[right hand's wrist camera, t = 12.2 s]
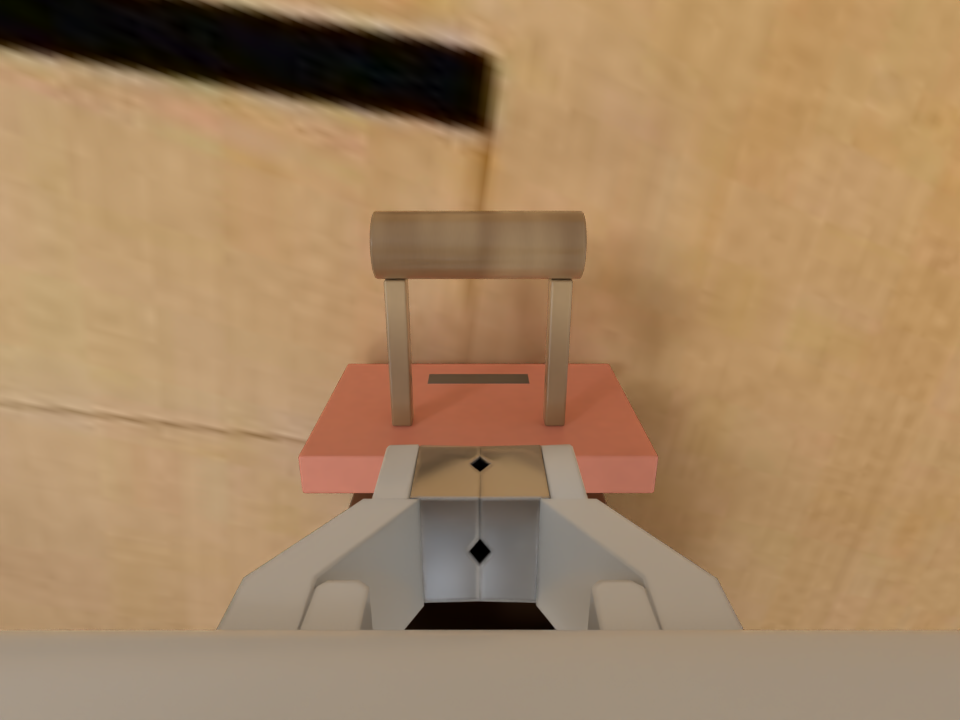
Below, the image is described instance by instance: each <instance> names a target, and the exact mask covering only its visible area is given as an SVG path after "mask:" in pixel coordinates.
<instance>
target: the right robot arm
mask: <svg viewBox="0 0 960 720" xmlns="http://www.w3.org/2000/svg"><path fill="white" fill-rule="evenodd" d="M468 601H491V602H527V603H536V606H537V607H538V608H539V609H540V611H541V612H542V613H543V614H544V616H545V617H546V618H547V619H548V620H549V622H550V623H551V624H552V625H553V627H554V628H555V629H556V630H405V628H406V627H407V626H408V625H409V623H410V622H411V621H412V620H413V619H414V617H415V616H416V615H417V614H418V612H419V611H420V610H421V609H422V608H423V606H424V603H432V602H468ZM0 720H960V630H744V629H743V627H742V626H741V624H740V622H739V620H738V618H737V616H736V614H735V612H734V610H733V608H732V606H731V604H730V602H729V600H728V598H727V596H726V595H725V593H724V591H723V589H722V587H721V585H720V583H719V581H718V579H717V578H716V577H714V576H713V575H711V574H710V573H708V572H707V571H705V570H704V569H702V568H701V567H699V566H697V565H696V564H694V563H693V562H691V561H690V560H688V559H687V558H685V557H684V556H682V555H681V554H679V553H678V552H676V551H675V550H673V549H672V548H670V547H669V546H667V545H666V544H664V543H663V542H661V541H660V540H658V539H657V538H655V537H654V536H652V535H651V534H649V533H648V532H646V531H645V530H643V529H642V528H640V527H639V526H637V525H636V524H634V523H633V522H631V521H630V520H628V519H626V518H625V517H623V516H622V515H620V514H619V513H617V512H616V511H614V510H613V509H611V508H610V507H608V506H607V505H605V504H604V503H602V502H601V501H599V500H598V499H588V497H587V494H586V490H585V487H584V483H583V480H582V477H581V473H580V470H579V466H578V463H577V459H576V456H575V453H574V449H573V446H571V445H570V444H562V445H515V446H450V445H420V446H419V445H418V444H409V445H389V446H388V447H387V448H386V452H385V455H384V459H383V462H382V466H381V469H380V473H379V476H378V480H377V483H376V487H375V490H374V494H373V497H372V499H362V500H361V501H359V502H358V503H356V504H355V505H353V506H352V507H350V508H349V509H347V510H346V511H344V512H342V513H341V514H339V515H338V516H336V517H335V518H333V519H332V520H330V521H329V522H327V523H326V524H324V525H323V526H321V527H320V528H318V529H317V530H315V531H314V532H312V533H311V534H309V535H308V536H306V537H305V538H303V539H302V540H300V541H298V542H297V543H295V544H294V545H292V546H291V547H289V548H288V549H286V550H285V551H283V552H282V553H280V554H279V555H277V556H276V557H274V558H273V559H271V560H270V561H268V562H267V563H265V564H264V565H262V566H261V567H259V568H258V569H256V570H254V571H253V572H251V573H250V574H248V575H247V576H245V577H244V578H243V580H242V582H241V584H240V585H239V587H238V589H237V591H236V593H235V595H234V597H233V599H232V601H231V603H230V605H229V606H228V608H227V610H226V612H225V614H224V616H223V618H222V620H221V622H220V624H219V626H218V627H217V629H216V630H0Z"/></svg>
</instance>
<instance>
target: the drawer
mask: <svg viewBox="0 0 960 720" xmlns="http://www.w3.org/2000/svg"><path fill="white" fill-rule="evenodd" d="M586 244H587V234H586V222H585V217H584V214H583V212H581V211H375V212H374V213H373V215H372V218H371V225H370V255H371V264H372V269H373V273H374V275H375V277H376V278H377V279H385V281H384V296H385V312H386V329H387V346H388V363H389V364H348V365H347V367H346V369H345V371H344V373H343V375H342V377H341V378H340V380H339V382H338V384H337V386H336V388H335V390H334V391H333V393H332V395H331V397H330V399H329V401H328V403H327V405H326V406H325V408H324V410H323V412H322V414H321V416H320V418H319V419H318V421H317V423H316V425H315V427H314V429H313V431H312V433H311V434H310V436H309V438H308V440H307V442H306V444H305V446H304V447H303V449H302V451H301V453H300V455H299V457H298V458H299V466H300V474H301V482H302V490H303V493H354V494H353V497H352V500H351V503H350V506H349V508H350V507H352V506H353V505H355V504H356V503H358V502H359V501H361V500H362V499H372V497H373V494H374V490H375V487H376V483H377V480H378V476H379V473H380V469H381V466H382V462H383V459H384V455H385V452H386V448H387V447H388V446H389V445H409V444H418V445H419V446H420V445H450V446H515V445H562V444H570V445H571V446H573V449H574V453H575V456H576V459H577V463H578V466H579V470H580V473H581V477H582V480H583V483H584V487H585V490H586V494H587V497H588V499H598V500H599V501H601V502H602V503H604V504H605V505H607V503H606V500H605V497H604V494H603V493H653V492H654V488H655V479H656V471H657V463H658V456H657V454H656V452H655V450H654V448H653V446H652V444H651V442H650V440H649V439H648V437H647V435H646V433H645V431H644V429H643V427H642V425H641V423H640V422H639V420H638V418H637V416H636V414H635V412H634V410H633V408H632V407H631V405H630V403H629V401H628V399H627V397H626V395H625V393H624V391H623V390H622V388H621V386H620V384H619V382H618V380H617V378H616V376H615V374H614V373H613V371H612V369H611V367H610V365H609V364H568V358H569V341H570V323H571V306H572V288H573V282H572V280H571V279H579V278H581V276H582V274H583V271H584V266H585V259H586ZM408 279H549V286H548V310H547V333H546V357H545V364H412V362H411V340H410V317H409V294H408ZM405 630H556V629H555V628H554V627H553V625H552V624H551V623H550V622H549V620H548V619H547V618H546V617H545V616H544V614H543V613H542V612H541V611H540V609H539V608H538V607H537V606H536V603H527V602H491V601H468V602H432V603H424V606H423V608H422V609H421V610H420V611H419V612H418V614H417V615H416V616H415V617H414V619H413V620H412V621H411V622H410V623H409V625H408V626H407V627H406V628H405Z"/></svg>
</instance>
